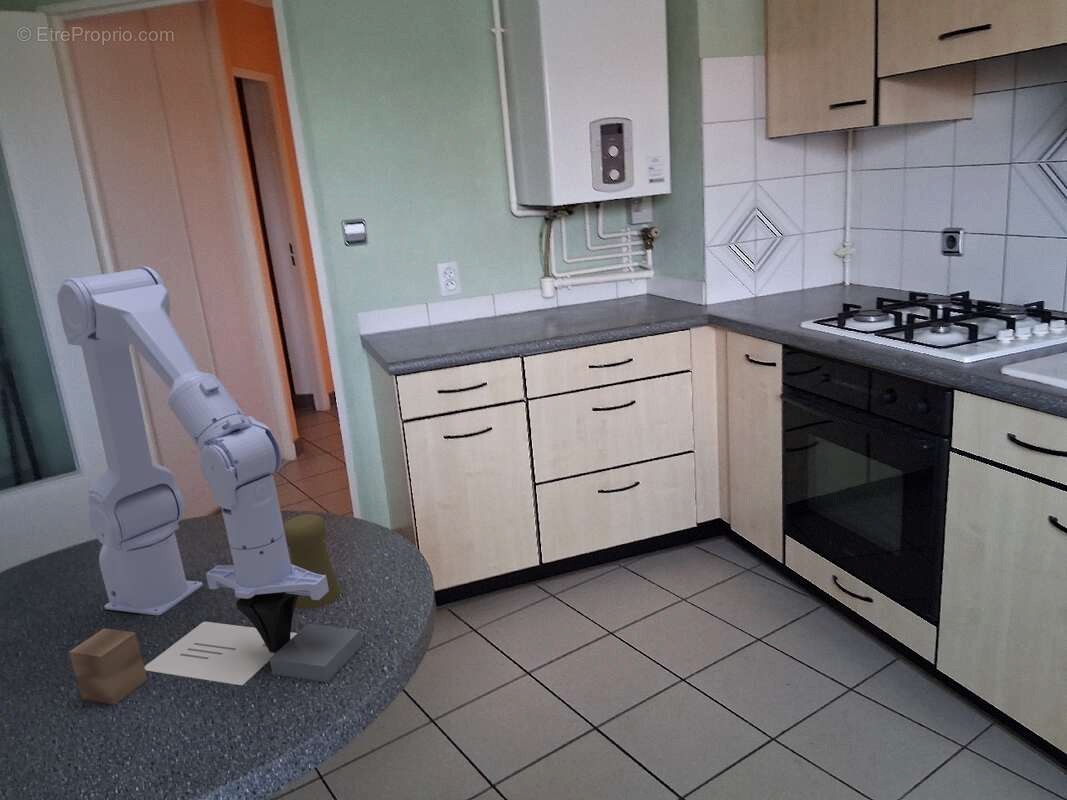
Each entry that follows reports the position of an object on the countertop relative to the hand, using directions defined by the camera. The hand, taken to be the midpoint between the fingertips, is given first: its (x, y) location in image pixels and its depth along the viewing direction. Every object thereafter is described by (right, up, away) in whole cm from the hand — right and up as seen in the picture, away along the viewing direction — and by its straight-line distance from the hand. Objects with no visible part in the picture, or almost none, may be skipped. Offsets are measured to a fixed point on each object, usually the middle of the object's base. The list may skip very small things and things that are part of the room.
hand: (280, 648), depth 89 cm
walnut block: (-17, -4, -3) cm, 17 cm away
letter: (-7, -1, +2) cm, 8 cm away
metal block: (+5, -1, -2) cm, 5 cm away
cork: (+1, +2, +12) cm, 13 cm away
